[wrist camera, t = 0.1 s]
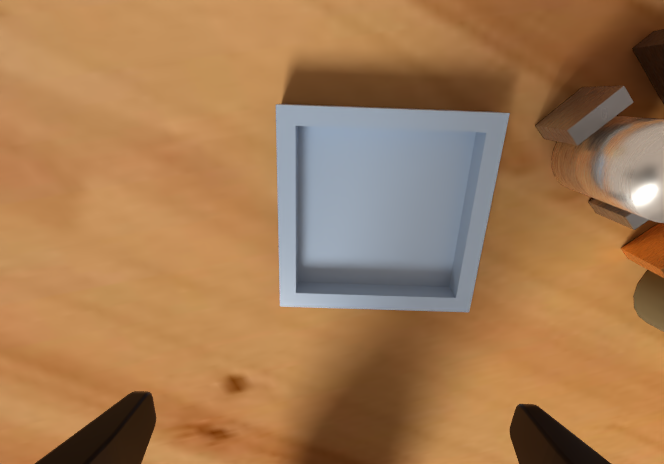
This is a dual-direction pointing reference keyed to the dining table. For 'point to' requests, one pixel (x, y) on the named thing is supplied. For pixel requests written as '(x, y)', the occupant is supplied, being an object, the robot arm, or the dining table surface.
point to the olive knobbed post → (650, 299)
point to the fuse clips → (616, 155)
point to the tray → (383, 205)
